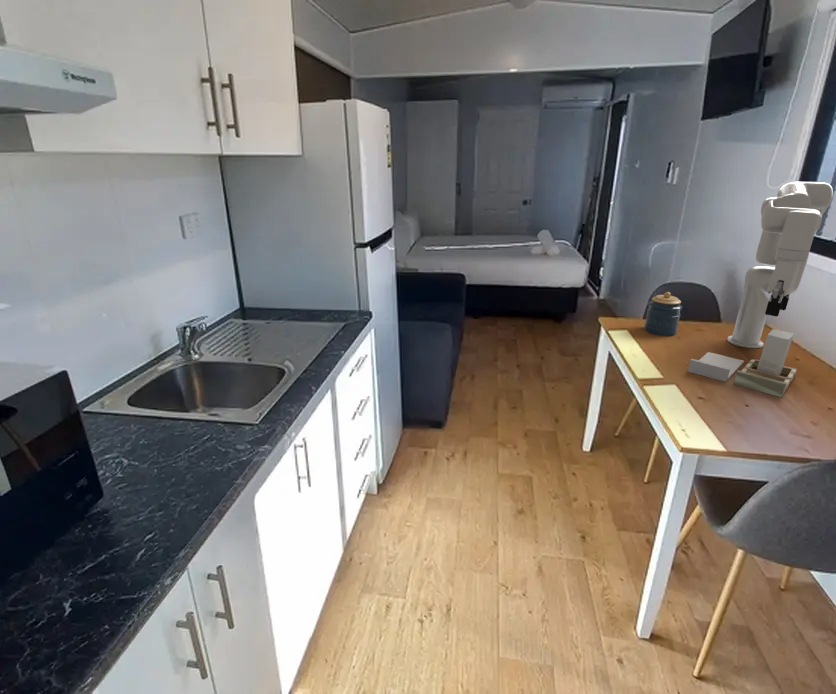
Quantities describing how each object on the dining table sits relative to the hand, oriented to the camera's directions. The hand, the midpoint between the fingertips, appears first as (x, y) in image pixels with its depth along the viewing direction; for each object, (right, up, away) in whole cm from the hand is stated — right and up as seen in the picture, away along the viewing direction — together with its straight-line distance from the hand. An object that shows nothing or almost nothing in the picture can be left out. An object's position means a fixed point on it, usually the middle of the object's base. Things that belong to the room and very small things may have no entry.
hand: (775, 312), depth 147 cm
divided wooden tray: (+11, -22, +20) cm, 31 cm away
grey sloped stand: (0, -18, +30) cm, 35 cm away
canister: (-2, -4, +67) cm, 67 cm away
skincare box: (+15, -21, +24) cm, 35 cm away
